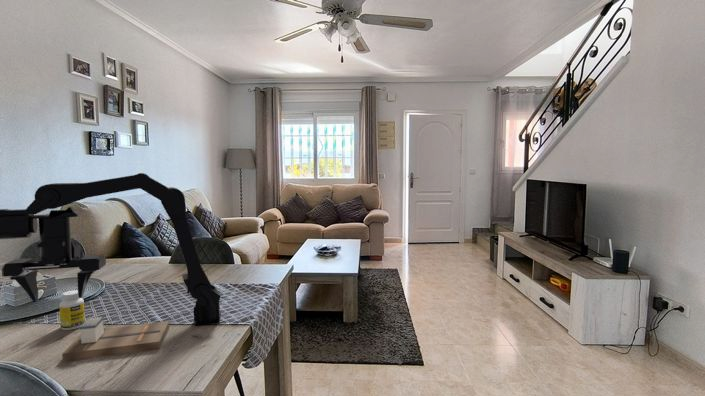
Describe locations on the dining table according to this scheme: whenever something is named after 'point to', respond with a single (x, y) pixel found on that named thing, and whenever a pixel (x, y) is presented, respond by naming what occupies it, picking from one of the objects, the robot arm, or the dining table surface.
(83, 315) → the supplement bottle
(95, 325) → the fader tab
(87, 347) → the fader console
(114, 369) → the dining table surface
